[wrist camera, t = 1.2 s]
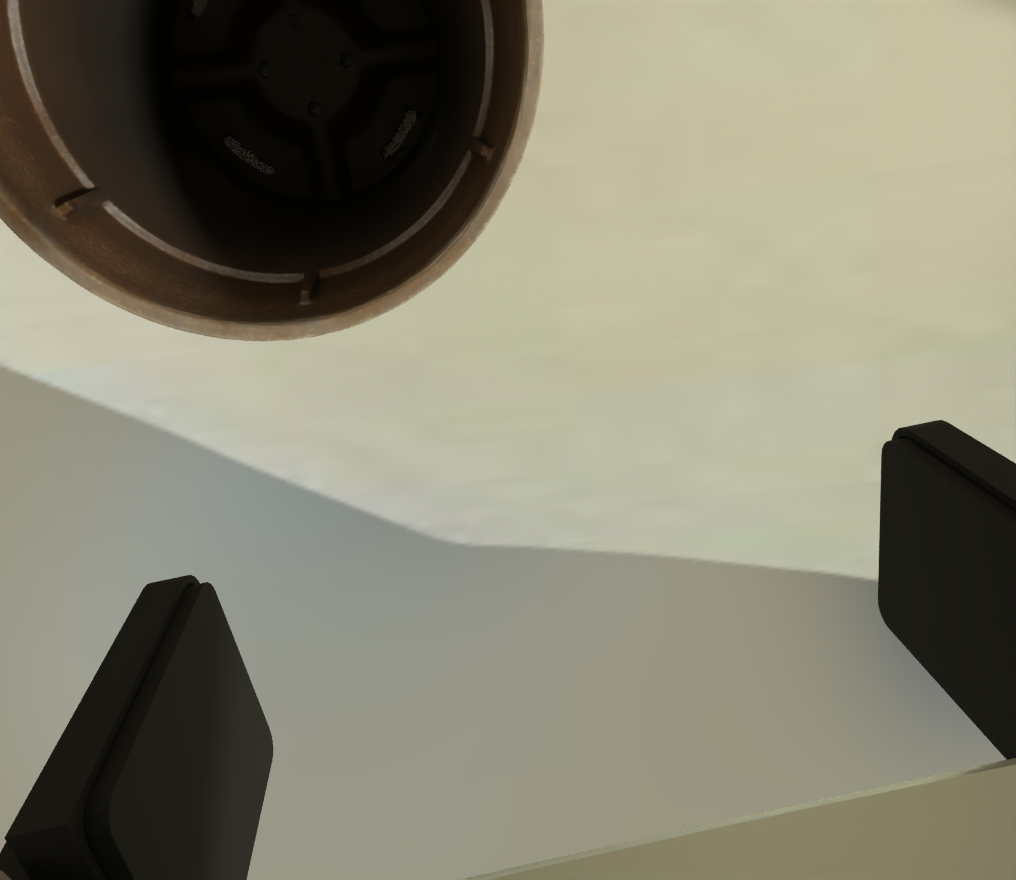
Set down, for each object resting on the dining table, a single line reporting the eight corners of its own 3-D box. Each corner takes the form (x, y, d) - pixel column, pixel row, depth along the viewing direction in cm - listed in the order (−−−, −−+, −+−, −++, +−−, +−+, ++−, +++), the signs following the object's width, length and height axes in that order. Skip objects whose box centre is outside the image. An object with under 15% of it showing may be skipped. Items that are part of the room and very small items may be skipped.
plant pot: (395, 312, 40) (389, 428, 25) (64, 154, 35) (-183, 180, 20) (550, -11, 35) (656, -105, 20) (192, -240, 31) (-8, -574, 16)
